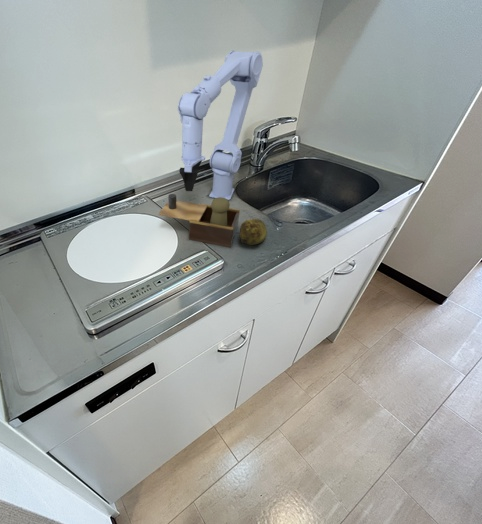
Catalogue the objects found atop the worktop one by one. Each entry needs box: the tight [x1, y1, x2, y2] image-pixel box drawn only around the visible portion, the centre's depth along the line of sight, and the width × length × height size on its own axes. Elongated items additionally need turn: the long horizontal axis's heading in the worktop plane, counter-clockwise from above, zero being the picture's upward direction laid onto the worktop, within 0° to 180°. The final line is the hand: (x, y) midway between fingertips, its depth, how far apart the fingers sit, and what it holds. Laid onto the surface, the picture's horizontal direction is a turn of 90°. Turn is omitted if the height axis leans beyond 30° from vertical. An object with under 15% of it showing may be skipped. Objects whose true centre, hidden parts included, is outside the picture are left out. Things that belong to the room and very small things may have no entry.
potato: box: [239, 218, 268, 246], centre depth 81 cm, size 8×13×8 cm, turn 132°
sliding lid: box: [158, 193, 208, 222], centre depth 84 cm, size 9×13×5 cm
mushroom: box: [210, 197, 230, 227], centre depth 82 cm, size 6×6×11 cm
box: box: [188, 203, 241, 248], centre depth 85 cm, size 11×13×6 cm
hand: (190, 185), depth 89 cm, fingers open, 7 cm apart
